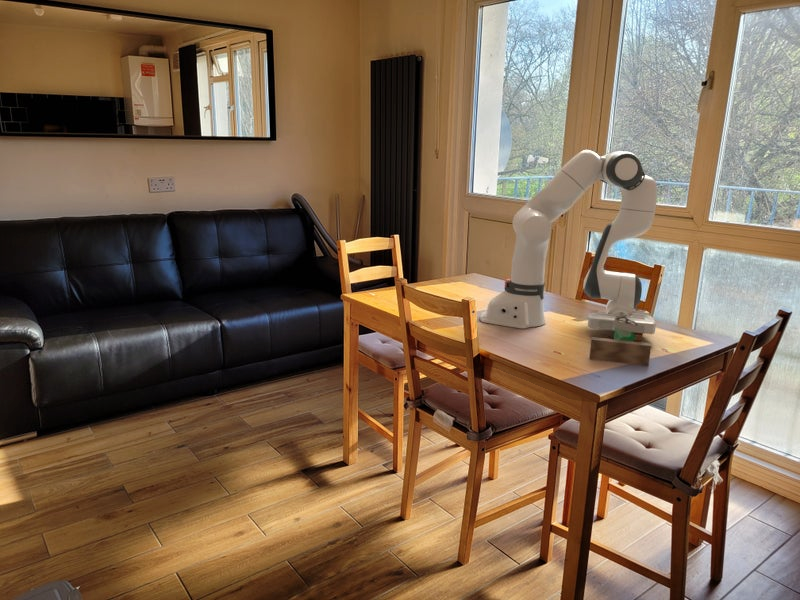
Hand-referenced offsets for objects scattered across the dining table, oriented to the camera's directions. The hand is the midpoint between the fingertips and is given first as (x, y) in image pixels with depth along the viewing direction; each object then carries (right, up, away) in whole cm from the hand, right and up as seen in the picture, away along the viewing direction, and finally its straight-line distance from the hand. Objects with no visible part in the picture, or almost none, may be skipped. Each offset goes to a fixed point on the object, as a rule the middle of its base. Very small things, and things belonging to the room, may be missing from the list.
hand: (621, 330), depth 185 cm
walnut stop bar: (-5, -8, -12) cm, 15 cm away
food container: (-2, -6, -4) cm, 8 cm away
